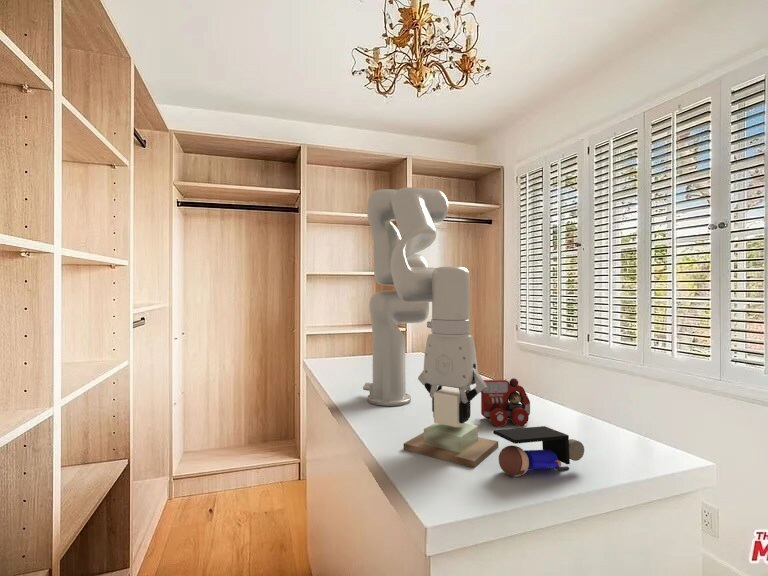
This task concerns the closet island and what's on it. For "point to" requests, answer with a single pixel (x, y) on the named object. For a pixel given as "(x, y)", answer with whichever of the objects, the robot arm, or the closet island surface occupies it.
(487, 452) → the base
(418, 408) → the closet island surface
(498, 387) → the toy fire truck
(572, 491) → the closet island surface
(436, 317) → the robot arm
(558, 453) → the figurine character
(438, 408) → the cream block
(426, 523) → the closet island surface
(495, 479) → the closet island surface
